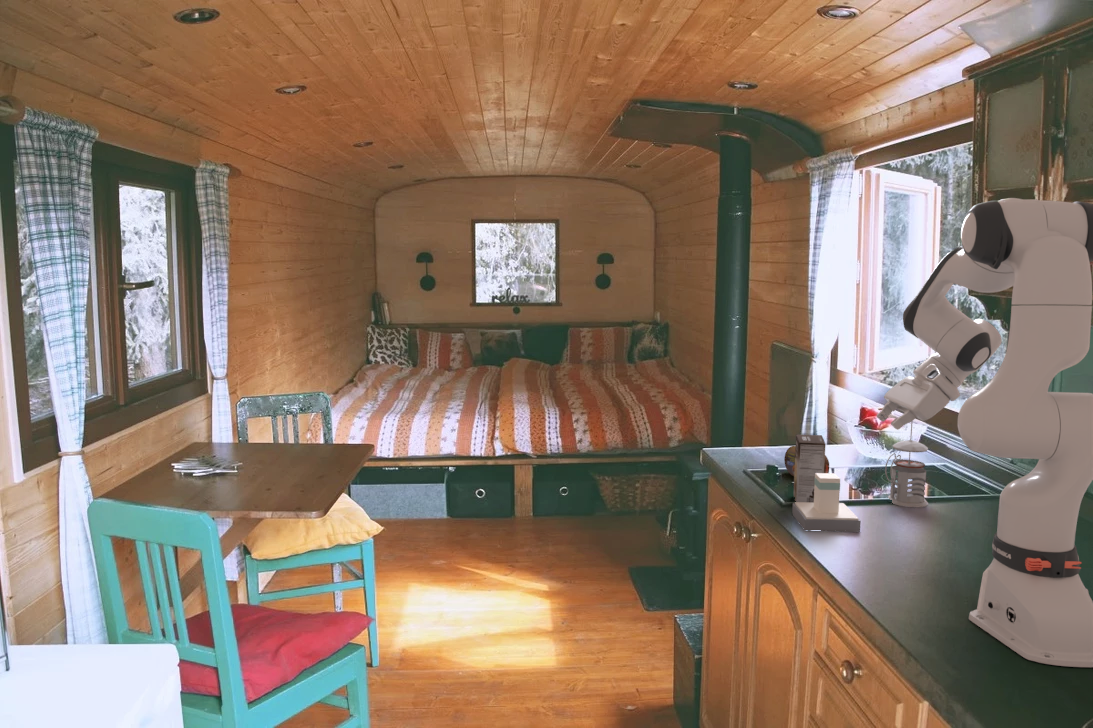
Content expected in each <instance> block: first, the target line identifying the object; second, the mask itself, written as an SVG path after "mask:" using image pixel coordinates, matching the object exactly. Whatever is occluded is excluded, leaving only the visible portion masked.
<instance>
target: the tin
mask: <svg viewBox="0 0 1093 728" xmlns="http://www.w3.org/2000/svg"><path fill="white" fill-rule="evenodd" d="M795 448H796V445H792V446H790V447H788V448H787V449H786V452H785V453H784V466H785V469H786V471H787V472H788V474H790V475H791V476H793V477H794V471H795ZM824 473H830V462H829V459H828V457H827V455H826V454H825V463H824Z"/></svg>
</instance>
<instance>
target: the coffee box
mask: <svg viewBox="0 0 1093 728" xmlns="http://www.w3.org/2000/svg"><path fill="white" fill-rule="evenodd" d="M795 446H796V448H795V471H794V476H793V498H794V497H795V499H794V502H795V501H796V502H814V486H815V484H814V482H815V473H824V463H825V455H826V442H825V440H824V437H823V435H820V434H818V435H817V434H795Z"/></svg>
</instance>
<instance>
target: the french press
mask: <svg viewBox="0 0 1093 728" xmlns="http://www.w3.org/2000/svg"><path fill="white" fill-rule="evenodd" d="M910 426H911V427H910V436H909V437H910V439H909V440H907V439H906V440H901V441H898V442H896V443H894V444H892V447H893V449H894V450H895V451H900V452H904V453H909V455H908V459H905V458H904V459H901V458H902V455H901V454H898V455H897V456H896V453H892V454H890V455H889V457H888V458H887V461H886V463H885V468H884V473H885V477H886V479H887V480H888V481H889V482H890V494H889V495H888V496H887V497H888V498H889V499H890V500H892V503H893V505H897V506H900V507H907V508H923V507H927V506H928V505H929V502H928V501H927V500H926V499H925V495H926V492H925V491H926V487H925V486H926V480H927V470H926V469H925V468H924V467H925V466H926V464H925V463H924V462H922V461H918V460H914V459H913V460H912V459H911V453H924V452H925V453H926V452H927V451H928V450H929V447H928V446H926V445H925V444H924V443H921V442H919V441H917V440H913V439H912V434H913V421H911V422H910ZM893 455H894V459H893V460H892V462H891V465H890V469H889V470H890V471H889V472H890V474H889V475H890V478H891V479H889V478H888V477H889V476H888V474H887V471H888V470H887V468H888V467H887V466H888V463H889V460H890V459H891V457H892V456H893ZM898 457H899V458H898ZM897 471H898V472H897ZM909 480H910V481H909ZM909 485H910V486H909ZM896 486H897V487H896ZM908 490H909V491H908ZM892 503H891V504H892Z"/></svg>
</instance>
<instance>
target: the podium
mask: <svg viewBox="0 0 1093 728" xmlns="http://www.w3.org/2000/svg"><path fill="white" fill-rule="evenodd" d="M791 515H792V516H793V517H794V519H795V520H796V521H797V522H798V524H799V523H800V524H799V525H800V527H801V528H802V527H803V528H804V529H803V528H802V529H803V531H804V530H821V531H820V532H833V531H840V533H861V524H862V523H861V521H862V520H860V518H859V517H858V516H857V515H856V514H855V513H854V512H853V511H852V510H851V509H850V508H849V507H848V506H847V505H846V503H844V502H839V512H838V513H818V512H817V511H816V509H815V508H814V502H795V501H794V502H793V503H792V511H791ZM842 531H843V532H842Z"/></svg>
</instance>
